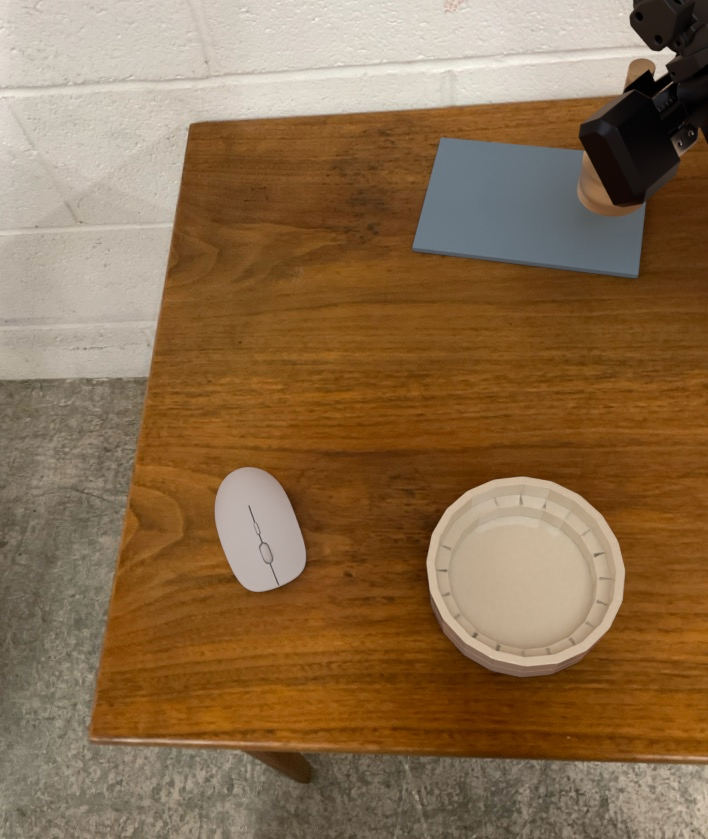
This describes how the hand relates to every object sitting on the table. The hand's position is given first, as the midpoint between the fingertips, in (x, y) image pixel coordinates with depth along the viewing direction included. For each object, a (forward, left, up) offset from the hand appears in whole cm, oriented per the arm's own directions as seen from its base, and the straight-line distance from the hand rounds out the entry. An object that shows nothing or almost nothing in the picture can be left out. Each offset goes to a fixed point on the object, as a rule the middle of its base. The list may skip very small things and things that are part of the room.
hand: (613, 119), depth 61 cm
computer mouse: (+21, +33, -14) cm, 42 cm away
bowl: (+1, +33, -13) cm, 36 cm away
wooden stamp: (-1, +1, -7) cm, 7 cm away
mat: (+5, -3, -13) cm, 15 cm away
